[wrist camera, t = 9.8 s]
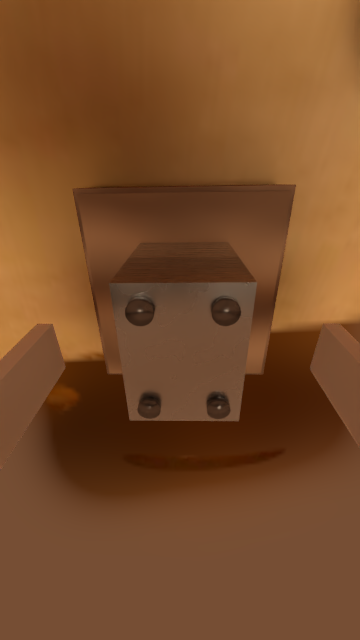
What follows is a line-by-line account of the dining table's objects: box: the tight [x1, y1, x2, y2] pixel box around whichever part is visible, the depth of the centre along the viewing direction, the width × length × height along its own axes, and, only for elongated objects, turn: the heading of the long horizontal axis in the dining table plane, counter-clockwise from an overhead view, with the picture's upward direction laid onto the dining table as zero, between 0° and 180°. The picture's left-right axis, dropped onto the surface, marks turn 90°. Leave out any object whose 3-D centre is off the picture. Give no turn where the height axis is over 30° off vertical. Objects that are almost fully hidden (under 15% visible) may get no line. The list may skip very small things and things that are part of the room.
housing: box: [109, 242, 257, 421], centre depth 16 cm, size 8×6×8 cm
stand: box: [73, 185, 296, 374], centre depth 21 cm, size 15×14×4 cm
